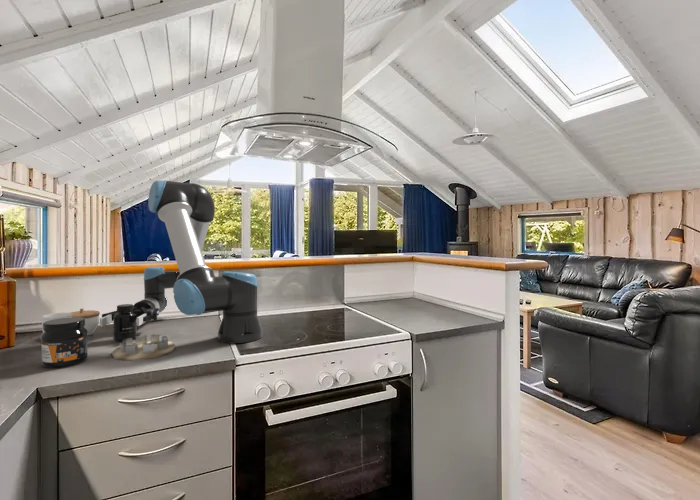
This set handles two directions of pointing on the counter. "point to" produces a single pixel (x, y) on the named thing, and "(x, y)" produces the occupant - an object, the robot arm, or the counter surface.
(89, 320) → the lidded jar
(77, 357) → the supplement container
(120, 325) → the supplement bottle
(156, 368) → the counter surface
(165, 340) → the castellated ring
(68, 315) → the white cup
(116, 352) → the seat plate
